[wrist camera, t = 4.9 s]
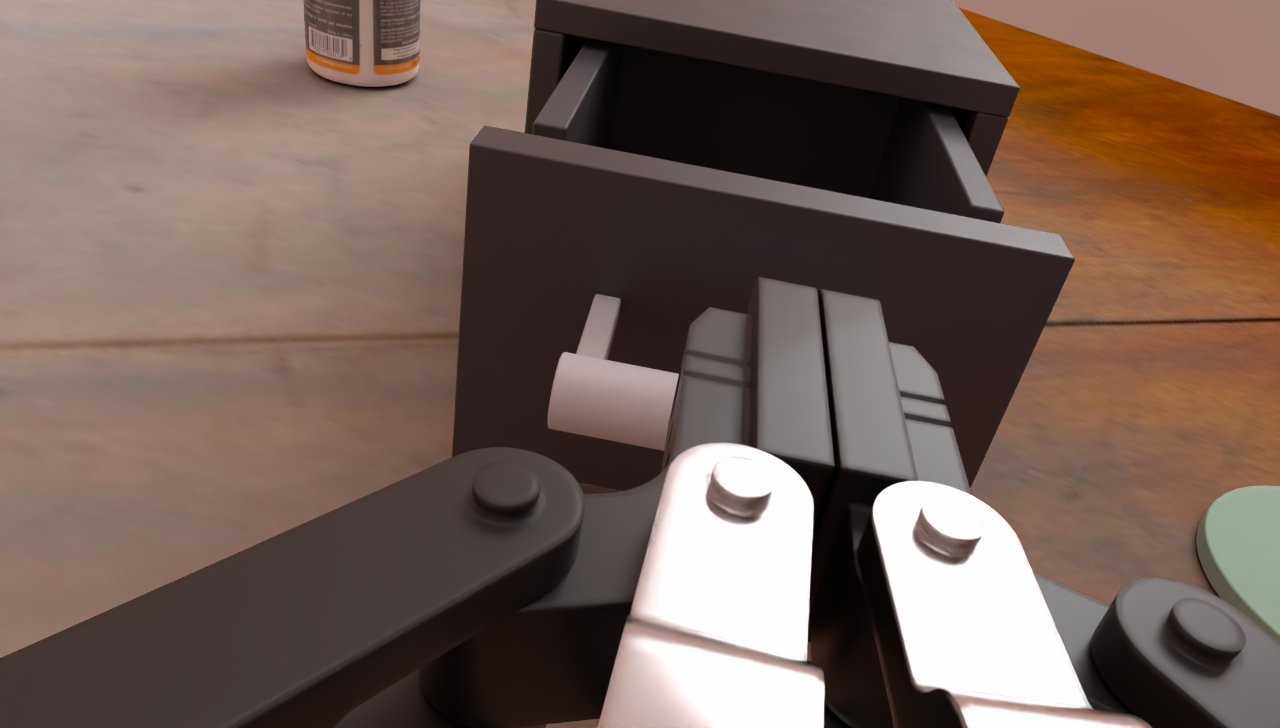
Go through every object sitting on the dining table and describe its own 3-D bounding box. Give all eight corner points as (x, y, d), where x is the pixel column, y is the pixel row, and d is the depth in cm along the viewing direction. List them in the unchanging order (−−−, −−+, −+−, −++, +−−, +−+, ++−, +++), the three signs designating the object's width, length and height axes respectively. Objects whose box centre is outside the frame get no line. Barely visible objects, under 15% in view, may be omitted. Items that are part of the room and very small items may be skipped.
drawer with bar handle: (972, 693, 20) (1147, 372, 16) (396, 580, 20) (402, 229, 16) (881, 284, 36) (955, 65, 31) (557, 222, 36) (584, -6, 32)
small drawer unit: (907, 385, 32) (1020, 87, 26) (508, 309, 32) (536, -4, 27) (866, 202, 45) (935, -23, 40) (583, 149, 45) (612, -83, 40)
